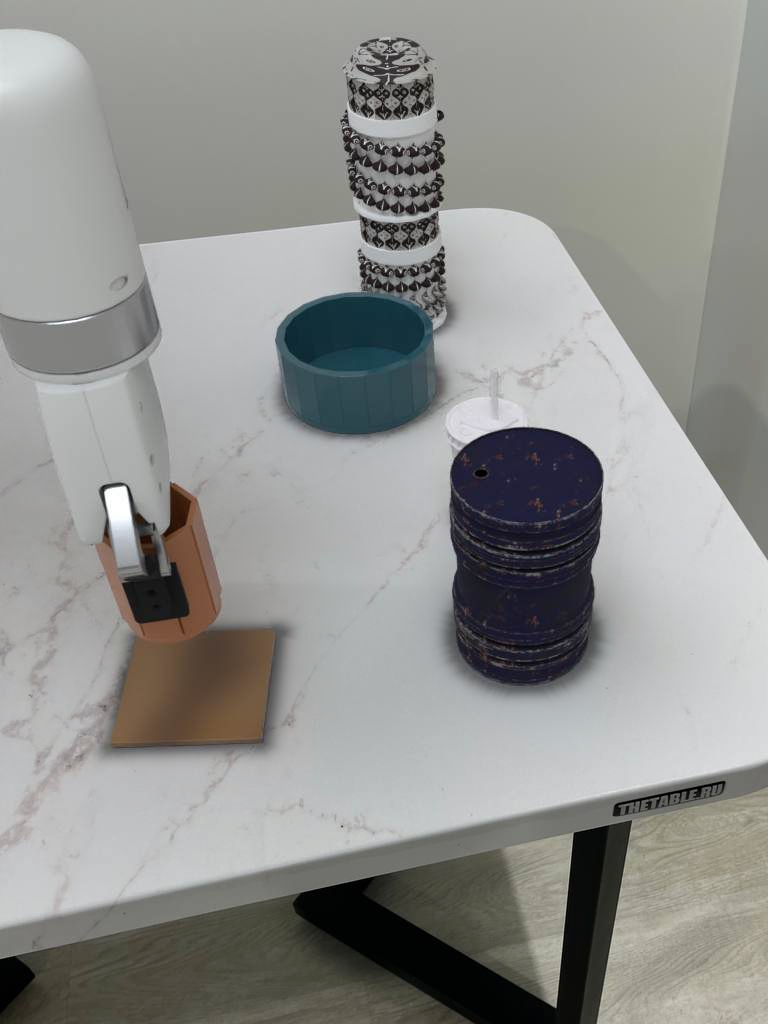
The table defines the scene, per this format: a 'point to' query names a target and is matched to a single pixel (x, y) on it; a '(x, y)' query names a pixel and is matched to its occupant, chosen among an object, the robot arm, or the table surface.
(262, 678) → the trivet
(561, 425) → the table surface
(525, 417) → the smoothie
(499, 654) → the navy ridged cylinder
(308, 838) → the table surface
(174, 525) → the small pot
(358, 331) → the big pot
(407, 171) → the decorative candle
